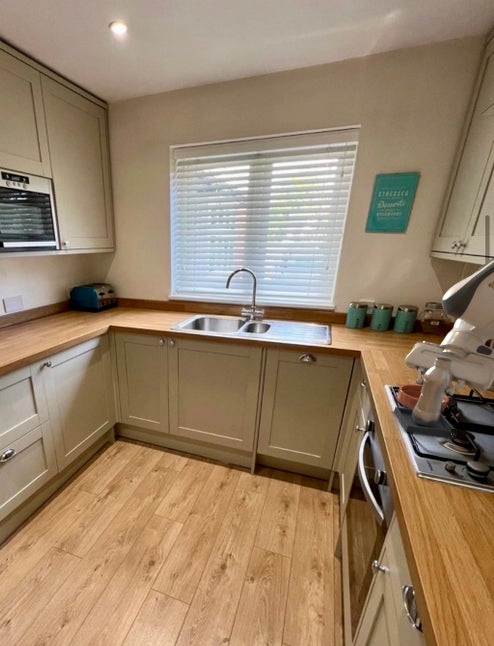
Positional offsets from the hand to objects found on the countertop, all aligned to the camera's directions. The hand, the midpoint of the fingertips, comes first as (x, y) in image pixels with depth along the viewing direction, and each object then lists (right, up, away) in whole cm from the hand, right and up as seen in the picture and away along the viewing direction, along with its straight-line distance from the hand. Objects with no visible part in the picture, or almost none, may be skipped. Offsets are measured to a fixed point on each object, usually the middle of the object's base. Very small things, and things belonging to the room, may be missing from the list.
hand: (433, 388), depth 92 cm
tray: (+1, -11, +5) cm, 12 cm away
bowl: (+8, -6, +16) cm, 19 cm away
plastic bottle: (+1, -11, +5) cm, 12 cm away
